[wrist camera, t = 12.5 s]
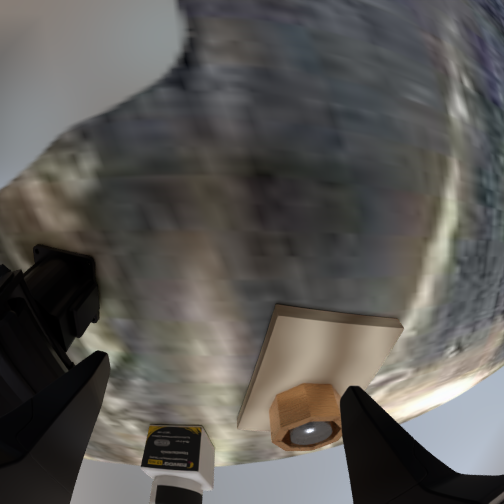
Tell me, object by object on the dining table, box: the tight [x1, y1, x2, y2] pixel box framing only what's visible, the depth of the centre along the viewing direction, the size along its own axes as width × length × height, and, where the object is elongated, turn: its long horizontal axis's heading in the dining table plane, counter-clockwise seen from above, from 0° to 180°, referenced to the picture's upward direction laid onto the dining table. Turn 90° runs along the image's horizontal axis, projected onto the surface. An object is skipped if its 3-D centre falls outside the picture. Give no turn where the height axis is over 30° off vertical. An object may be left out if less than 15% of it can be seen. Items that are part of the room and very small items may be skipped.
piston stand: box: [237, 304, 404, 432], centre depth 25 cm, size 12×17×2 cm
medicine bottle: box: [141, 425, 215, 504], centre depth 25 cm, size 7×7×12 cm
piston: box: [289, 421, 332, 445], centre depth 24 cm, size 4×4×4 cm
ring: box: [269, 383, 342, 451], centre depth 24 cm, size 7×7×4 cm
